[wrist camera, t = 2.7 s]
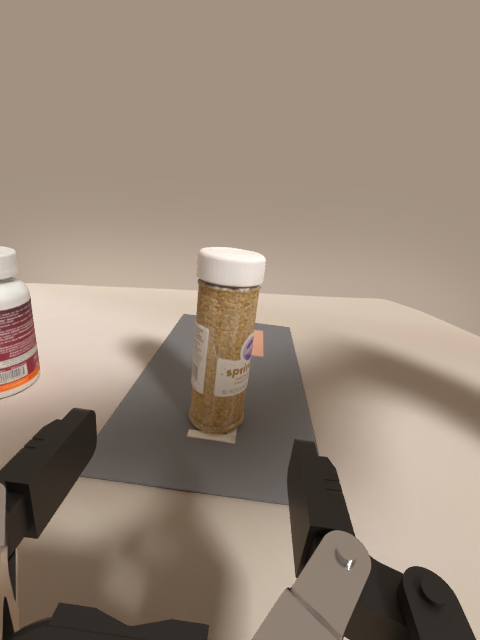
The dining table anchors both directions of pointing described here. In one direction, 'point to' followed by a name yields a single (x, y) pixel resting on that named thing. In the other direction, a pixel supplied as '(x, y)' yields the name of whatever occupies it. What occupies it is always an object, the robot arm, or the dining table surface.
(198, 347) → the sprinkles bottle
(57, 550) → the dining table surface
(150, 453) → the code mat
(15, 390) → the pill bottle
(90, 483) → the dining table surface
